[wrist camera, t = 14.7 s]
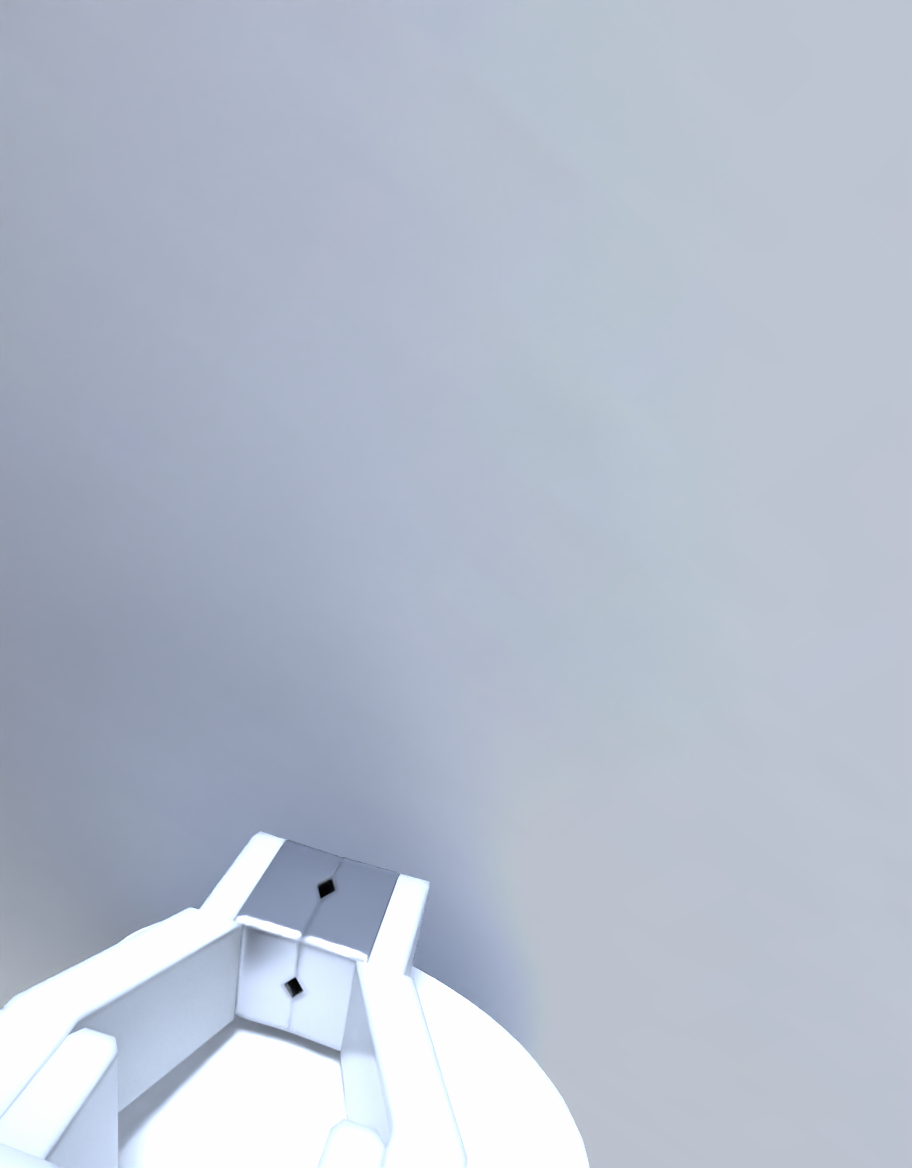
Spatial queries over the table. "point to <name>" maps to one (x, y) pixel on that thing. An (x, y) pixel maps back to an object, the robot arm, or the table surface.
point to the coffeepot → (343, 1097)
